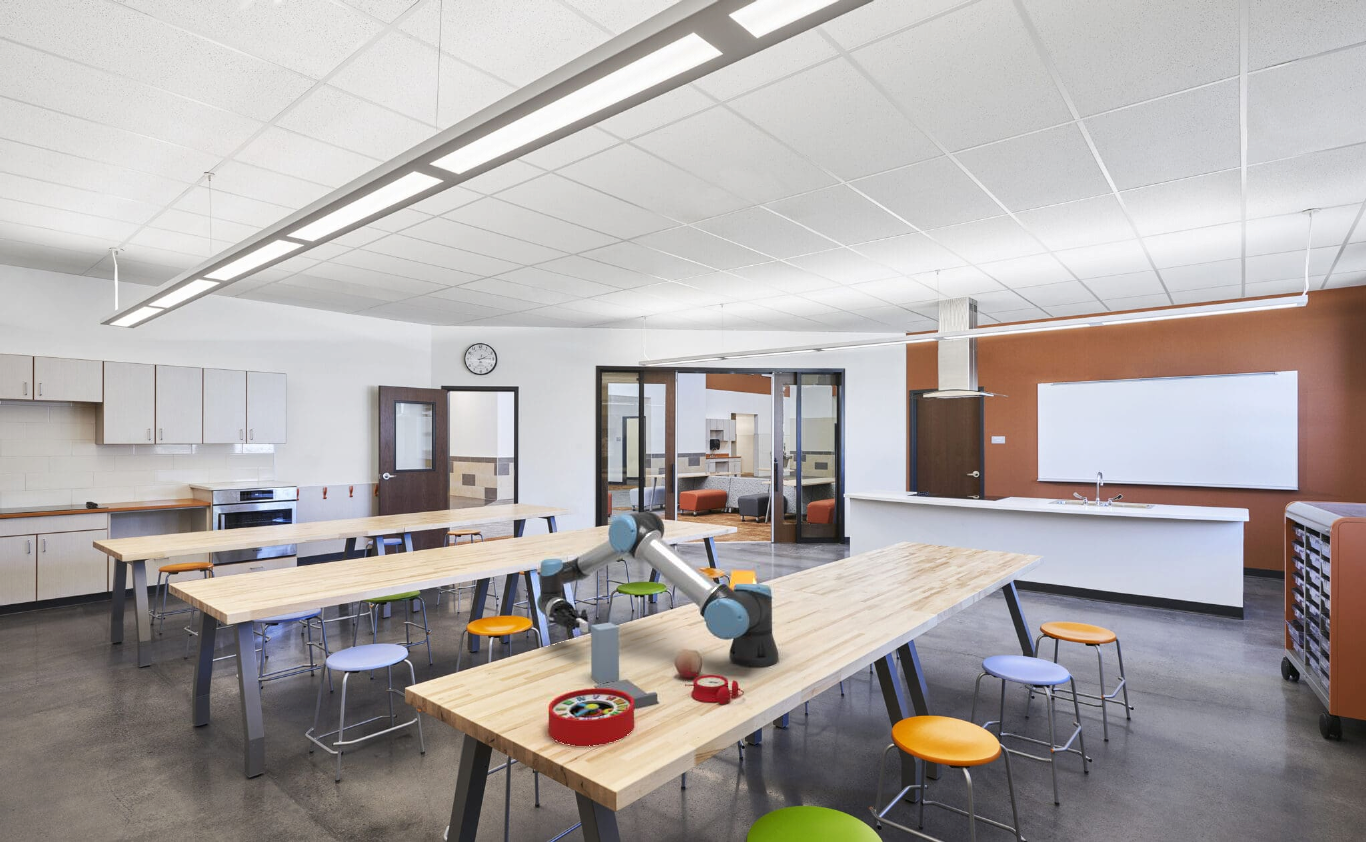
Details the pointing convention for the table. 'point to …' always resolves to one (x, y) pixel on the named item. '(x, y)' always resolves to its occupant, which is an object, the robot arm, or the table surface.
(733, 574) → the orange juice
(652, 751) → the table surface
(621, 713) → the toy clock
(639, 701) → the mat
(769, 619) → the robot arm
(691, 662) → the fruit
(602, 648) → the blue-grey rectangular block
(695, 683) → the alarm clock
